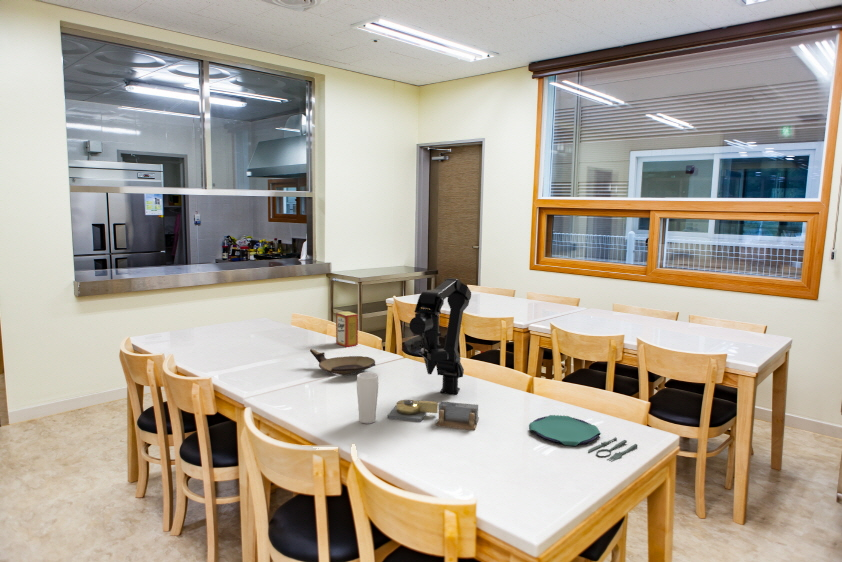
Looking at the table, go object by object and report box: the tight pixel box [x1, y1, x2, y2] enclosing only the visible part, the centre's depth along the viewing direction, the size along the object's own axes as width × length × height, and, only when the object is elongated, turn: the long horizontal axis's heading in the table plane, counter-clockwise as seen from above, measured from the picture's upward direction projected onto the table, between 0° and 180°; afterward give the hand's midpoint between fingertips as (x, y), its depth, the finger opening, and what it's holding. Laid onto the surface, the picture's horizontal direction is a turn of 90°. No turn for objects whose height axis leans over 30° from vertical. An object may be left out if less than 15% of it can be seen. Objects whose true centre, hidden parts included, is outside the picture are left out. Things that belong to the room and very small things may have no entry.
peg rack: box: [436, 409, 480, 431], centre depth 176 cm, size 9×12×5 cm
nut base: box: [387, 404, 427, 423], centre depth 183 cm, size 11×11×1 cm
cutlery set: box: [528, 414, 638, 462], centre depth 165 cm, size 20×30×2 cm, turn 40°
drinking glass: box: [356, 371, 379, 425], centre depth 175 cm, size 7×7×15 cm
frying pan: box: [309, 348, 376, 376], centre depth 229 cm, size 22×30×8 cm
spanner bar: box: [438, 401, 479, 425], centre depth 176 cm, size 12×4×5 cm, turn 77°
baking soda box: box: [335, 310, 359, 348], centre depth 273 cm, size 10×6×16 cm
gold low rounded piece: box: [396, 399, 439, 415], centre depth 182 cm, size 14×8×3 cm, turn 81°
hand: (429, 374), depth 188 cm, fingers closed
